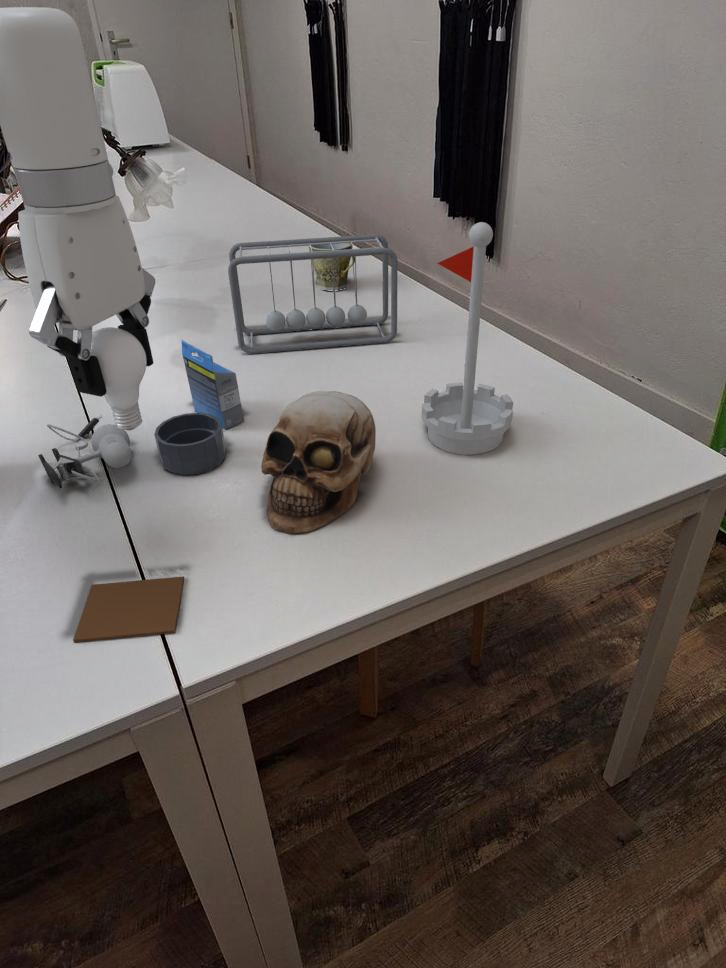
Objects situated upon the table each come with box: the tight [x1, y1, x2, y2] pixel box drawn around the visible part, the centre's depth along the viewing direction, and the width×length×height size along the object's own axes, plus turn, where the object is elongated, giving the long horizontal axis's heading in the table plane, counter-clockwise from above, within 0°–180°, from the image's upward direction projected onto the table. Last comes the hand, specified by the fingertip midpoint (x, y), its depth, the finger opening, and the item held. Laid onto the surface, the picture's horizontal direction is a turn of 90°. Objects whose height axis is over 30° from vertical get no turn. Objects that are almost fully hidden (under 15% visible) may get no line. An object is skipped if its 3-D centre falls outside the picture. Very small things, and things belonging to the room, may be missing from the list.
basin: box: [153, 412, 227, 476], centre depth 91 cm, size 9×9×5 cm
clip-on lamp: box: [37, 415, 133, 490], centre depth 91 cm, size 12×6×18 cm
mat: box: [72, 576, 185, 644], centre depth 69 cm, size 10×8×1 cm
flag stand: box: [421, 221, 514, 456], centre depth 88 cm, size 13×13×30 cm
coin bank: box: [260, 390, 377, 534], centre depth 83 cm, size 16×17×13 cm
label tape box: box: [180, 338, 245, 430], centre depth 99 cm, size 9×4×12 cm, turn 44°
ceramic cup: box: [308, 243, 355, 291], centre depth 149 cm, size 13×10×10 cm
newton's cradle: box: [227, 233, 399, 355], centre depth 123 cm, size 30×10×18 cm, turn 98°
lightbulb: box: [91, 326, 148, 431], centre depth 66 cm, size 6×6×11 cm
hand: (116, 376), depth 66 cm, fingers closed on lightbulb, 6 cm apart
